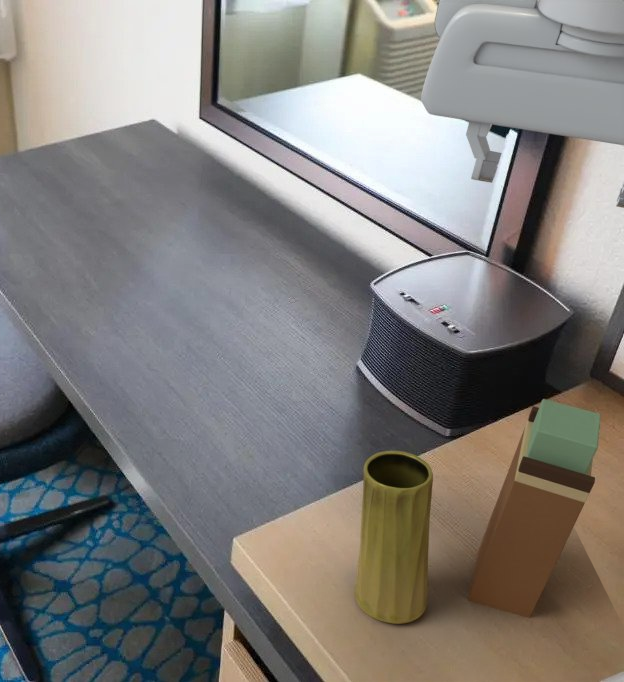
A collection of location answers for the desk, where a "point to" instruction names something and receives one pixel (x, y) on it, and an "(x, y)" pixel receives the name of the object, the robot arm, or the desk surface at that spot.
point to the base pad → (527, 530)
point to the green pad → (564, 436)
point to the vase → (394, 537)
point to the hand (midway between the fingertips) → (553, 191)
